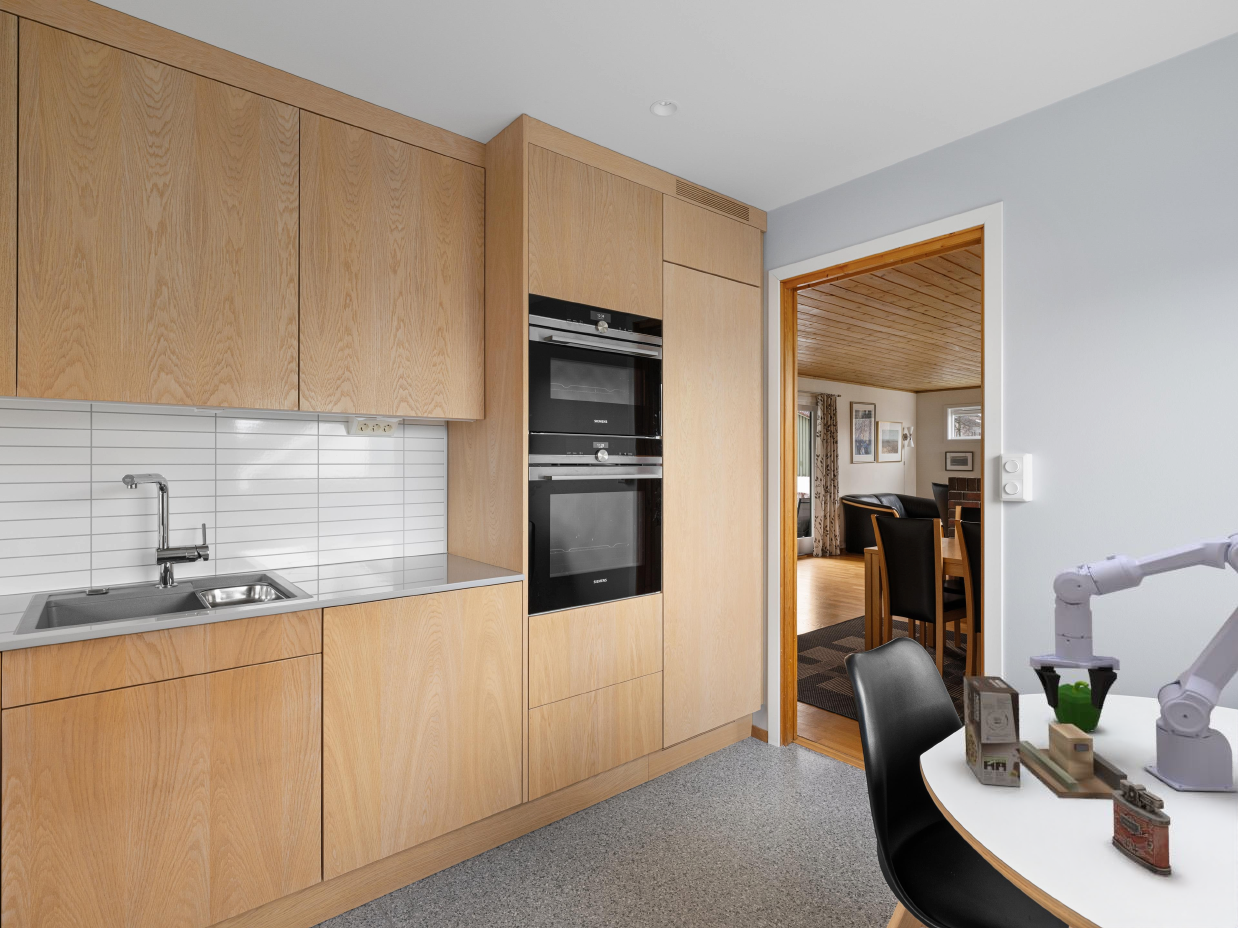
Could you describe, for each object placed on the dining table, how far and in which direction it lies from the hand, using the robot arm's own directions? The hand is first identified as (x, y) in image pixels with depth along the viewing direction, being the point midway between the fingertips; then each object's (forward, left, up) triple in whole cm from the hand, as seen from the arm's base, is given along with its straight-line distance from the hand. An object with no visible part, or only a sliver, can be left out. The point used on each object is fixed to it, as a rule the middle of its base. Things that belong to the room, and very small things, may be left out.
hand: (1074, 706), depth 121 cm
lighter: (+9, +31, -10) cm, 34 cm away
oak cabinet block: (+5, +7, -8) cm, 12 cm away
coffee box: (+18, +7, -10) cm, 22 cm away
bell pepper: (-8, -14, -10) cm, 19 cm away
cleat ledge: (+5, +7, -9) cm, 13 cm away
